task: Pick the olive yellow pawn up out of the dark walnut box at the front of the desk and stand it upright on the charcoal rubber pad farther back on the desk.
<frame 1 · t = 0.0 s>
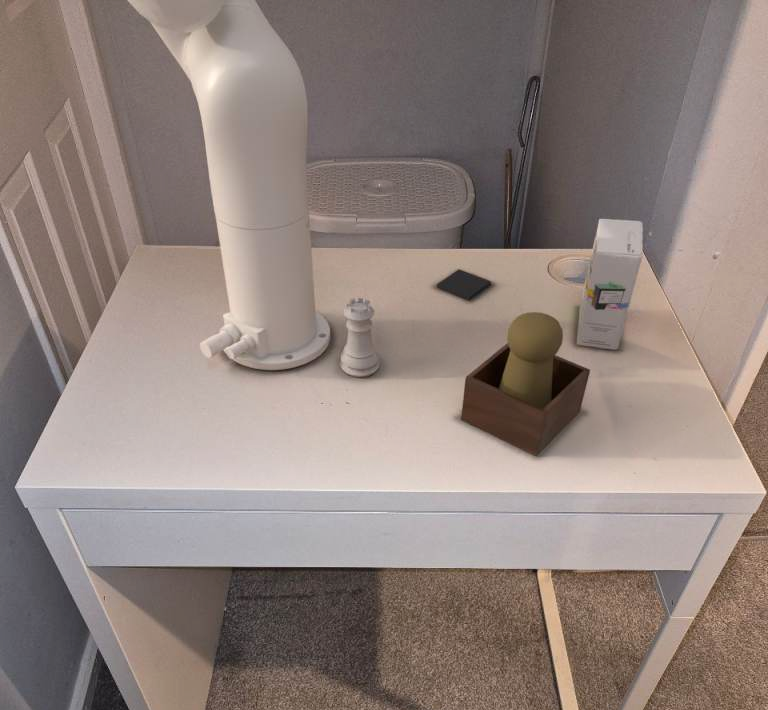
ink box: (597, 330, 91), on the table
rubber pad: (463, 286, 97), on the table
walnut box: (520, 416, 79), on the table
olive yellow pawn: (521, 414, 79), resting on walnut box
rook chess piece: (360, 368, 85), on the table
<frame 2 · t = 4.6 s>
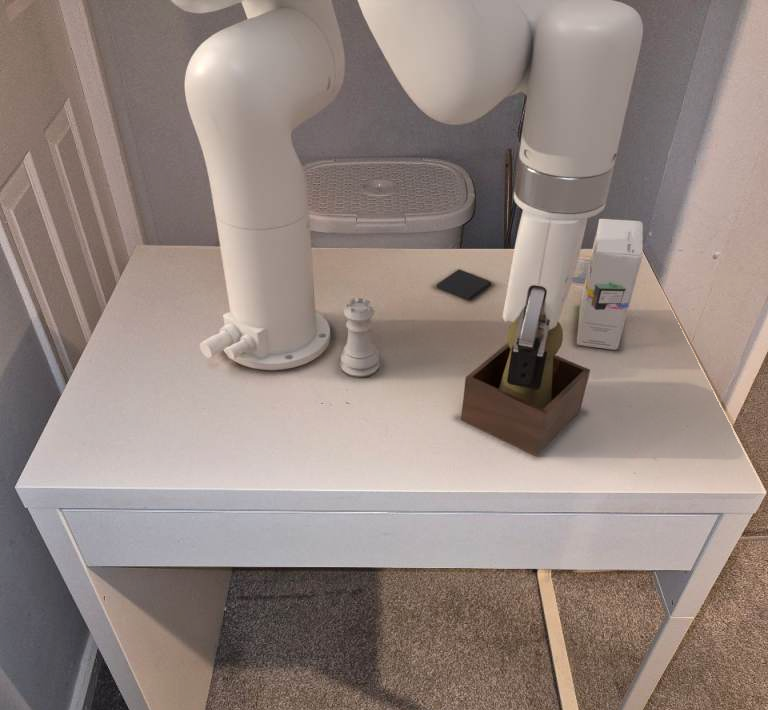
hand: (529, 366, 75), 6 cm above the table, tool pointing down, fingers closed on olive yellow pawn, 5 cm apart
olive yellow pawn: (521, 414, 79), resting on walnut box, touching gripper
everything else where it was.
when the fingers open (6 cm above the table, at t = 13.2 s): olive yellow pawn stays where it is, resting on rubber pad.
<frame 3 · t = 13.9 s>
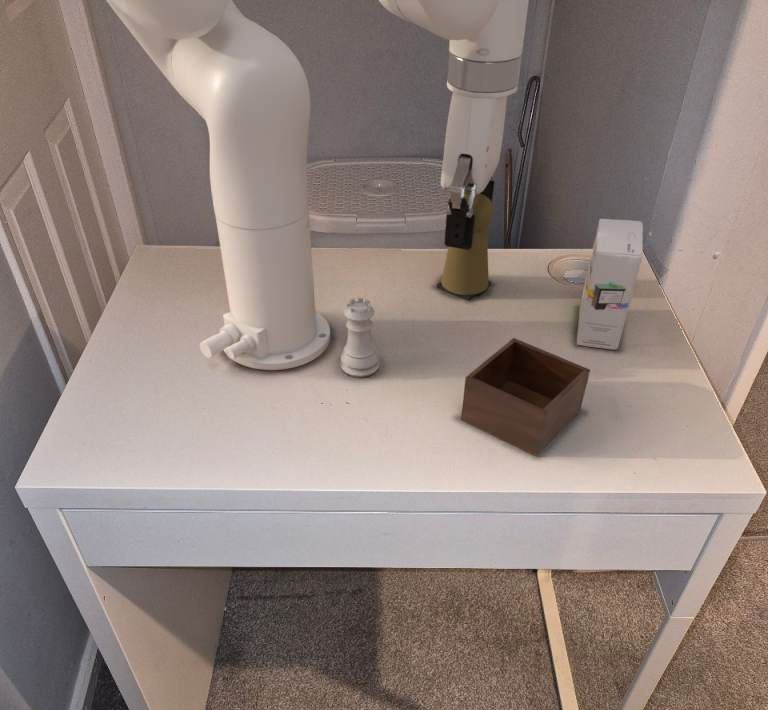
hand: (468, 228, 92), 8 cm above the table, tool pointing down, fingers open, 9 cm apart
olive yellow pawn: (464, 284, 97), resting on rubber pad
everything else where it was.
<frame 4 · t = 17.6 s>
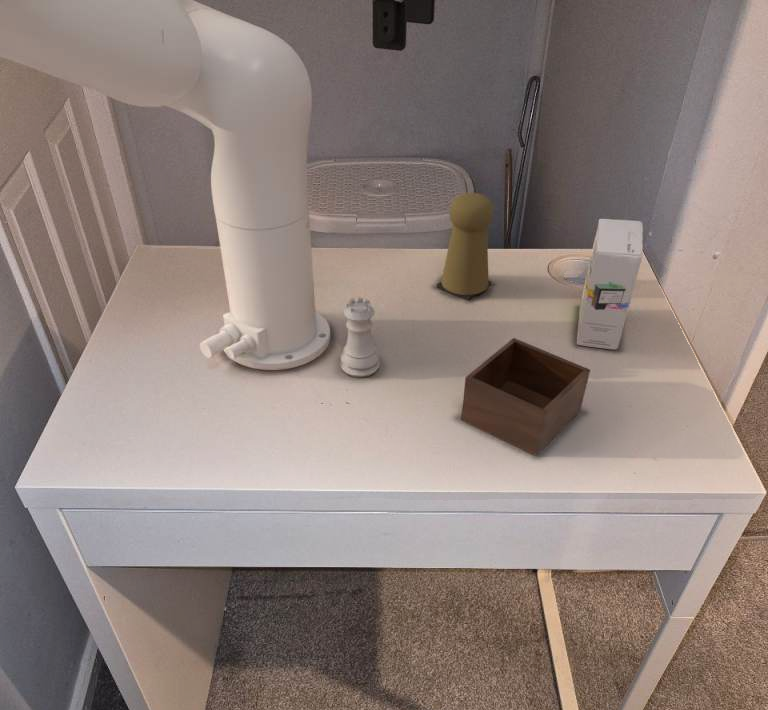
hand: (404, 34, 76), 28 cm above the table, tool pointing down, fingers open, 9 cm apart
nothing on the table moved.
at the end: olive yellow pawn 0.1 cm off-centre on the rubber pad, point 0.3 cm above the rubber pad's base; olive yellow pawn tilted 0°; the gripper is holding nothing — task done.
